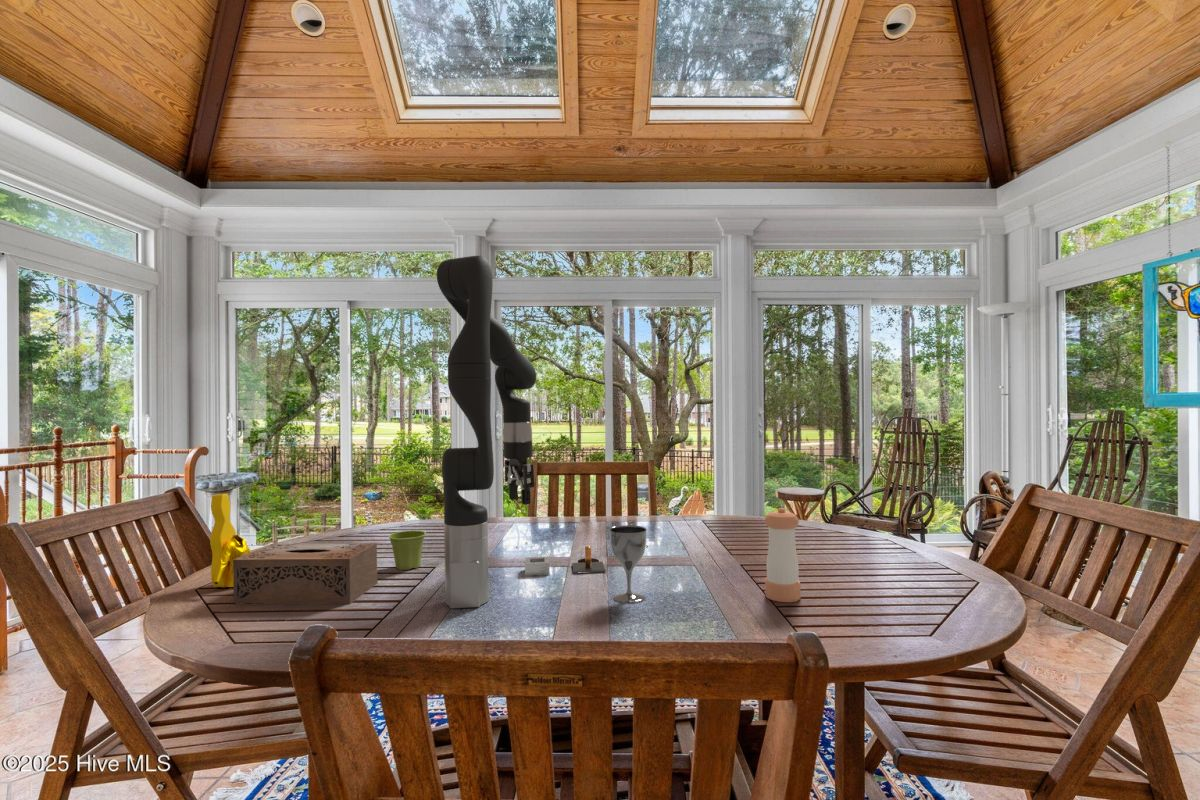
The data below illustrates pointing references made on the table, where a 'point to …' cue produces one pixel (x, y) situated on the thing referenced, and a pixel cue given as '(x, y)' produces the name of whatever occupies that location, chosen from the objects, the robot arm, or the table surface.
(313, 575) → the tissue box cover
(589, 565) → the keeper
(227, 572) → the figure statuette
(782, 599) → the pepper shaker
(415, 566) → the plant pot
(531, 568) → the grey square block
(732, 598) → the table surface
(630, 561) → the wine glass
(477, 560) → the robot arm
